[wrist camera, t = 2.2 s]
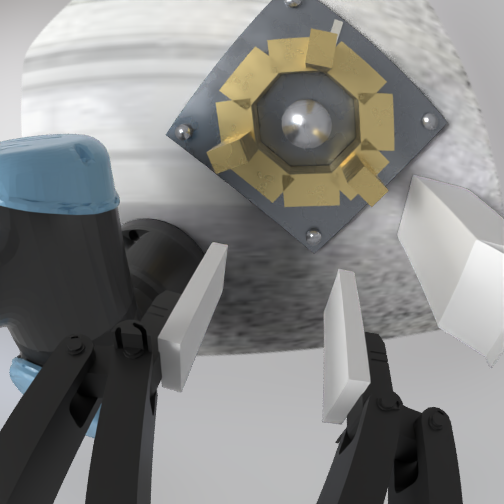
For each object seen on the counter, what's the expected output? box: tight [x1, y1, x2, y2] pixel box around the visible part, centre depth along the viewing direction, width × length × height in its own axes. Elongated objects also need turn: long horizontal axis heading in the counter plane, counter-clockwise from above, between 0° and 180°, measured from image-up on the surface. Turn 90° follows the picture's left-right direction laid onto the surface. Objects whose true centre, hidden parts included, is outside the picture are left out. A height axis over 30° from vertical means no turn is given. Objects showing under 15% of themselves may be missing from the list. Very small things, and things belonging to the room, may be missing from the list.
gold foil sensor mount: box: [207, 28, 394, 207], centre depth 24 cm, size 15×15×8 cm
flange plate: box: [166, 0, 447, 253], centre depth 26 cm, size 20×20×6 cm
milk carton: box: [397, 175, 504, 368], centre depth 22 cm, size 7×7×19 cm
